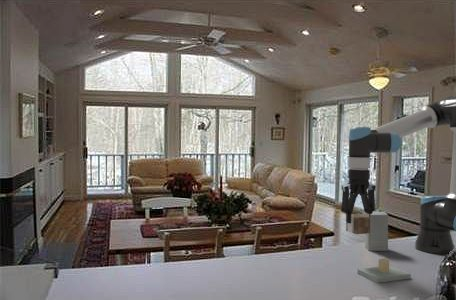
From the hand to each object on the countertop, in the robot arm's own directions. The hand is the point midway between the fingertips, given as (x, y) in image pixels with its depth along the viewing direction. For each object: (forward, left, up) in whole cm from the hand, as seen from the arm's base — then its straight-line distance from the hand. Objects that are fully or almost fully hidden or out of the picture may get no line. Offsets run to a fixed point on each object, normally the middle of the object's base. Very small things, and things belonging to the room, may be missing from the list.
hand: (358, 231), depth 155 cm
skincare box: (-22, -16, -13) cm, 30 cm away
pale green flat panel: (-1, +13, -13) cm, 18 cm away
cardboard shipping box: (0, 0, 0) cm, 0 cm away
